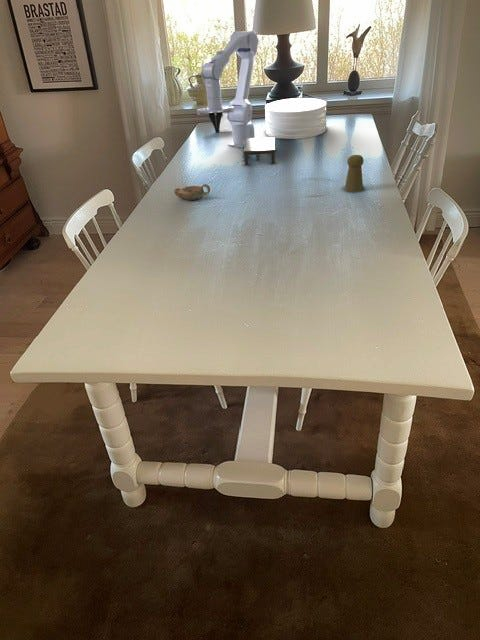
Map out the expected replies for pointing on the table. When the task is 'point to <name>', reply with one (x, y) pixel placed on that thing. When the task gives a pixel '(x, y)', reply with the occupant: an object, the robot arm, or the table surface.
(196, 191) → the oil lamp
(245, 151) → the desk
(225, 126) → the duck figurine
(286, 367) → the table surface
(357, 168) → the cork
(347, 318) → the table surface
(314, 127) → the plate stack
